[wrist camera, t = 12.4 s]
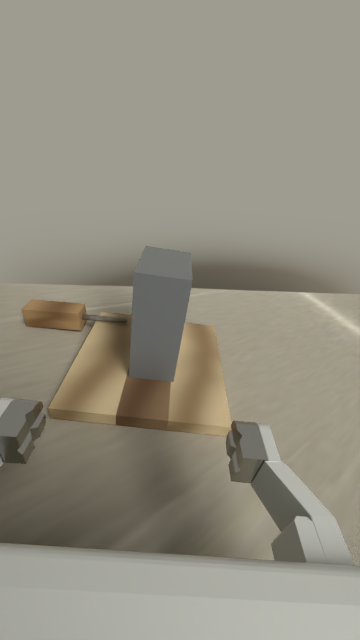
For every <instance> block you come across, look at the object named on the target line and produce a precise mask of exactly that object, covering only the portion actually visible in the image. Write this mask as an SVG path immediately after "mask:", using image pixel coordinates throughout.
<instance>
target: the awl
mask: <svg viewBox="0 0 360 640" xmlns="http://www.w3.org/2000/svg"><path fill="white" fill-rule="evenodd" d="M21 310H22V313H23V316H24V320H25V323H26V326H29V327H42V328H55V329H69V330H81V329H82V327H83V326H84V324H85V322H86V321H87V320H94V321H107V322H120V323H127V318H123V317H110V316H97V315H86V308H85V304H80V303H67V302H55V301H43V300H31V301H30V302H29V303H28V304H27V305H26V306H24V307H23V308H22V309H21Z"/></svg>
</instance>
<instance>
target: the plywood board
mask: <svg viewBox="0 0 360 640" xmlns="http://www.w3.org/2000/svg"><path fill="white" fill-rule="evenodd" d="M99 316H110V317H123V318H127V323H120V322H107V321H96V322H95V324H94V326H93V328H92V329H91V331H90V333H89V335H88V337H87V339H86V340H85V342H84V344H83V346H82V348H81V349H80V351H79V353H78V355H77V357H76V358H75V360H74V362H73V364H72V366H71V368H70V369H69V371H68V373H67V375H66V377H65V378H64V380H63V382H62V384H61V386H60V388H59V389H58V391H57V393H56V395H55V397H54V398H53V400H52V402H51V404H50V406H49V407H48V410H49V415H50V418H53V419H63V420H73V421H82V422H92V423H102V424H111V425H121V426H131V427H140V428H150V429H160V430H169V431H179V432H189V433H198V434H208V435H218V436H227V434H228V432H229V431H230V430H231V419H230V413H229V407H228V402H227V396H226V390H225V384H224V379H223V373H222V367H221V361H220V356H219V350H218V344H217V338H216V333H215V327H214V326H207V325H200V324H192V323H184V329H183V334H182V339H181V345H180V350H179V355H178V361H177V366H176V371H175V377H174V382H168V381H159V380H151V379H142V378H133V377H129V367H130V346H131V325H132V316H131V315H124V314H116V313H108V312H101V313H100V315H99Z"/></svg>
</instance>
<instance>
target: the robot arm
mask: <svg viewBox="0 0 360 640" xmlns="http://www.w3.org/2000/svg"><path fill="white" fill-rule="evenodd" d="M42 408H43V404H42V402H40V401H31V400H22V399H15V398H5V397H2V398H1V399H0V466H1V465H3V462H4V463H21V464H26V463H27V461H28V459H29V457H30V455H31V453H32V451H33V449H34V441H35V440H36V439H38V438H39V437H40V436H41V434H42V432H43V430H44V426H45V423H46V416H45V413H43V412H42V411H41V410H42ZM231 429H232V430H230V431H229V432H228V434H227V438H226V450H227V455H228V456H229V457H230V459H231V460H230V462H229V471H230V477H231V481H234V482H242V483H251V486H252V487H253V489H254V491H255V492H256V494H257V495H258V497H259V498H260V500H261V501H262V503H263V505H264V506H265V508H266V509H267V511H268V512H269V514H270V515H271V517H272V519H273V520H274V522H275V523H276V525H277V526H278V528H279V529H280V531H281V533H280V534H279V535H278V536H277V537H276V538H275V539H274V540H273V542H272V544H271V546H272V551H273V555H274V560H275V561H274V560H258V559H243V558H227V557H212V556H197V555H181V554H166V553H150V552H135V551H120V550H104V549H89V548H74V547H58V546H43V545H27V544H12V543H0V640H360V566H355V564H354V562H353V559H352V557H351V554H350V552H349V550H348V547H347V545H346V543H345V540H344V538H343V535H342V533H341V531H340V528H339V526H338V524H337V521H336V519H335V517H334V516H333V515H332V514H331V513H330V512H329V511H328V510H327V509H326V507H325V506H324V505H323V504H322V503H321V502H320V501H319V500H318V499H317V497H316V496H315V495H314V494H313V493H312V492H311V491H310V490H309V489H308V488H307V486H306V485H305V484H304V483H303V482H302V481H301V480H300V479H299V478H298V476H297V475H296V474H295V473H294V472H293V471H292V470H291V469H290V468H289V467H288V465H287V464H286V463H285V462H281V459H280V456H279V453H278V450H277V447H276V444H275V441H274V438H273V435H272V432H271V429H270V426H269V425H268V424H262V423H255V422H243V421H233V422H232V424H231Z"/></svg>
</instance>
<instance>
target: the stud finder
mask: <svg viewBox="0 0 360 640" xmlns="http://www.w3.org/2000/svg"><path fill="white" fill-rule="evenodd" d="M191 286H192V265H191V253H187V252H180V251H175V250H167V249H161V248H154V247H148V246H146V247H145V249H144V251H143V253H142V256H141V258H140V260H139V262H138V265H137V267H136V269H135V271H134V284H133V304H132V325H131V346H130V367H129V377H133V378H142V379H151V380H159V381H168V382H174V377H175V371H176V366H177V361H178V355H179V350H180V345H181V339H182V334H183V329H184V323H185V318H186V312H187V307H188V302H189V296H190V291H191Z"/></svg>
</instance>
